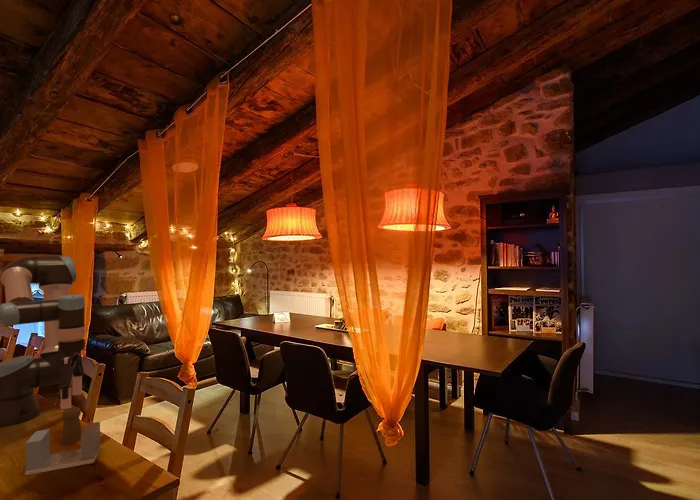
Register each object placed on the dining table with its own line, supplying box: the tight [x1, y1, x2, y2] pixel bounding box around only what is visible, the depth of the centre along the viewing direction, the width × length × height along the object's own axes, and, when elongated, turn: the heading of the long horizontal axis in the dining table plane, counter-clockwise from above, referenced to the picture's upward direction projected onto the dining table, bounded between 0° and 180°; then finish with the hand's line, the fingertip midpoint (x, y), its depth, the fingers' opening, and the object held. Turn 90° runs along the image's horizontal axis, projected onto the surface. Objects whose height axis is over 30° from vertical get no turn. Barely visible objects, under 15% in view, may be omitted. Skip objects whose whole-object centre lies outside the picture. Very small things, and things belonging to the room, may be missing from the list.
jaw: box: [25, 428, 51, 471], centre depth 116 cm, size 8×4×8 cm, turn 23°
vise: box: [24, 421, 101, 476], centre depth 119 cm, size 9×17×9 cm, turn 113°
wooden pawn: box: [60, 406, 82, 446], centre depth 132 cm, size 6×6×11 cm
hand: (71, 401), depth 132 cm, fingers open, 13 cm apart
